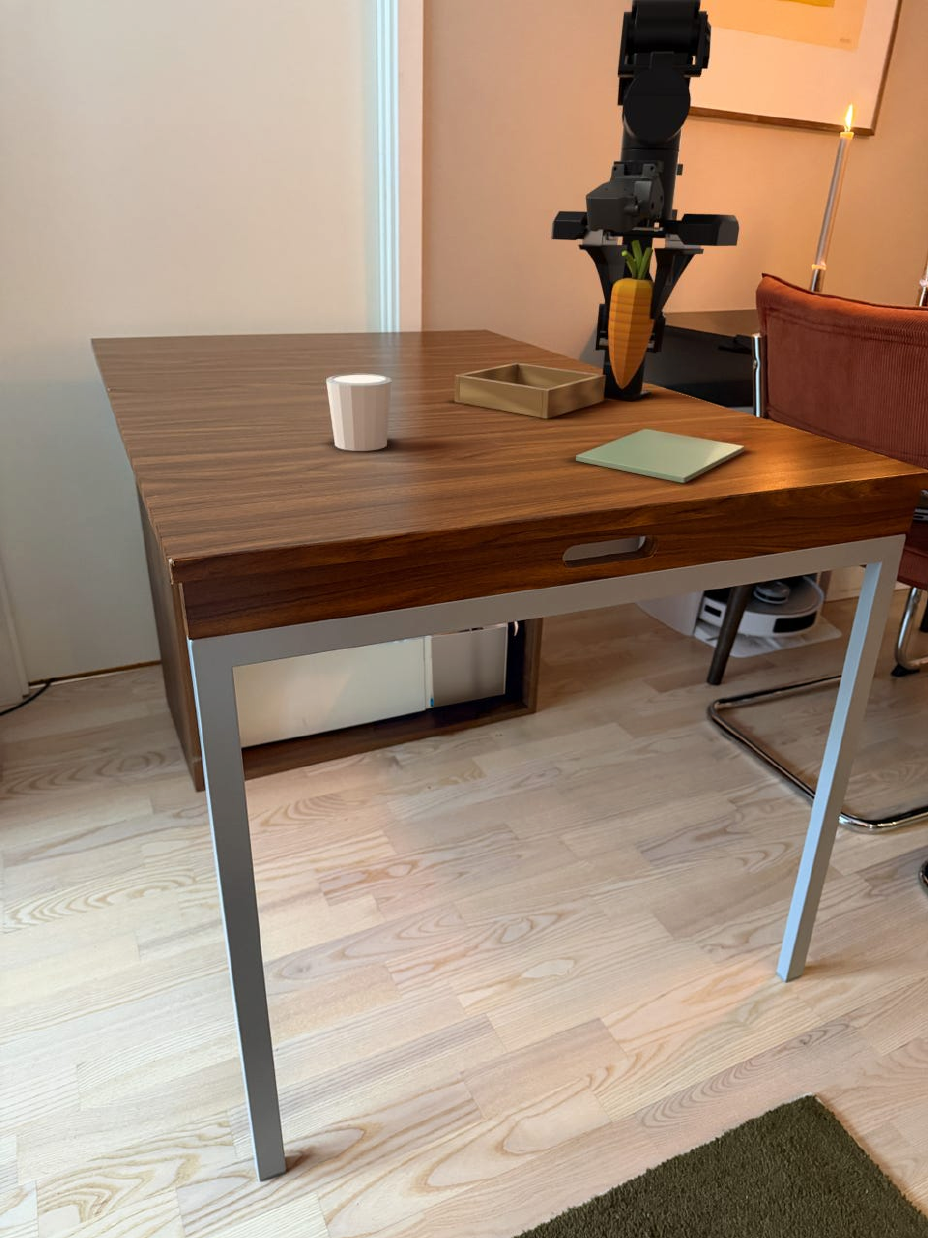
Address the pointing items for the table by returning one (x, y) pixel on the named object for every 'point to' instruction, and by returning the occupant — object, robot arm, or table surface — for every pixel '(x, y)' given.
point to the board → (661, 455)
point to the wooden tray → (530, 389)
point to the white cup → (359, 410)
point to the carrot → (630, 317)
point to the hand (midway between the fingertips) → (632, 317)
